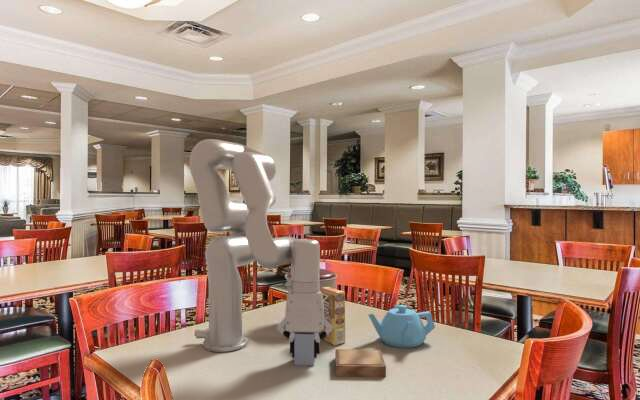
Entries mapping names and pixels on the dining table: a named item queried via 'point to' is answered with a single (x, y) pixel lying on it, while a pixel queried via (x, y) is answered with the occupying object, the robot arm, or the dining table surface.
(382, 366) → the plinth
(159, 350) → the dining table surface
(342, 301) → the candy box
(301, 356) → the block
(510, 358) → the dining table surface
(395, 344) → the teapot
